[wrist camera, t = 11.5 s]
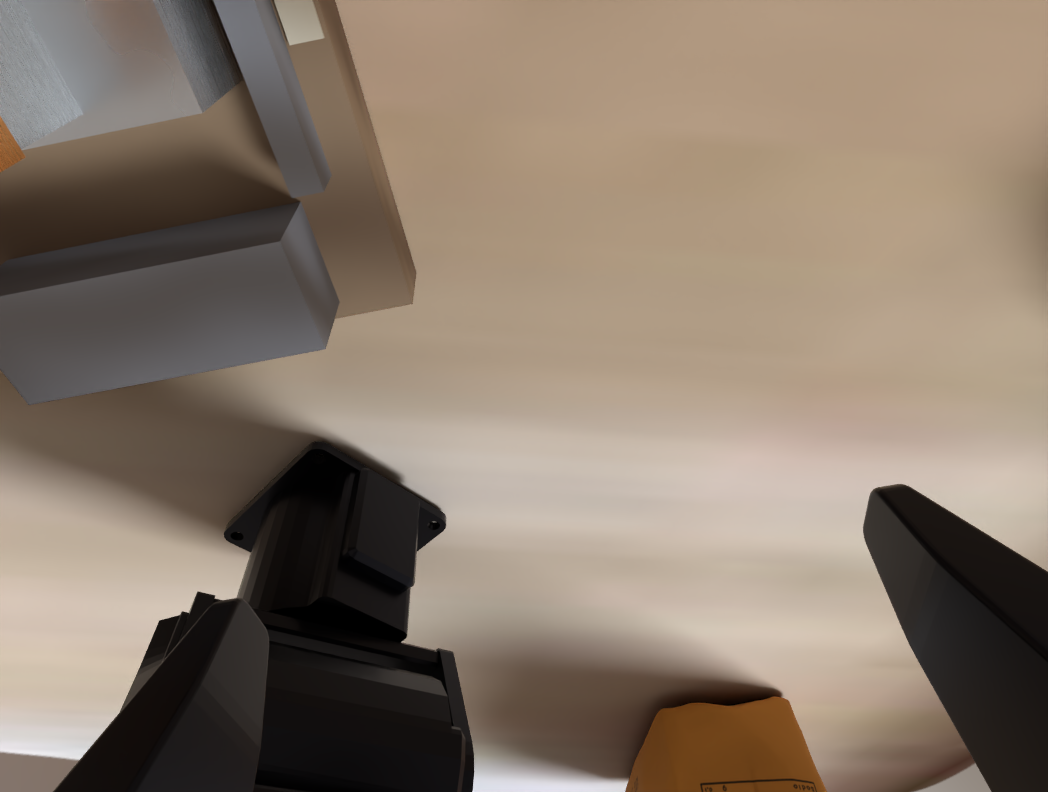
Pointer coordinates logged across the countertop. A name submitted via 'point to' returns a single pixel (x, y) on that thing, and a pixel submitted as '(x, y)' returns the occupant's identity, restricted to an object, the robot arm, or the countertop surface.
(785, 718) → the coffee package
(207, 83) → the sliding jaw
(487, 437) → the countertop surface
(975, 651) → the robot arm
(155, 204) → the base
